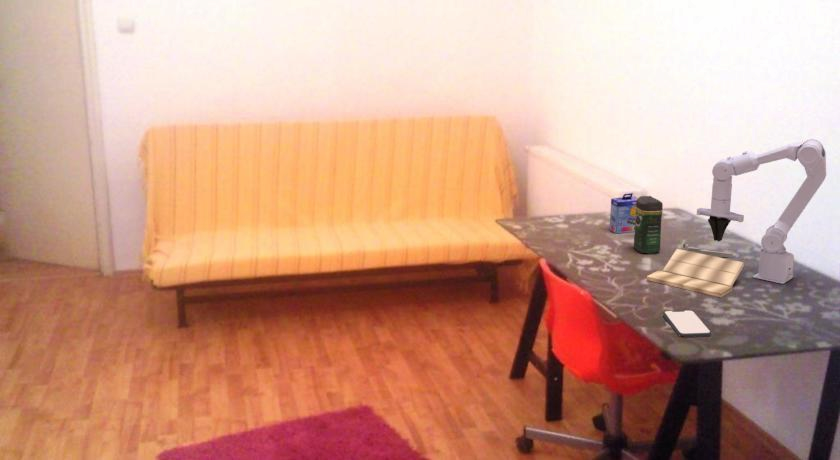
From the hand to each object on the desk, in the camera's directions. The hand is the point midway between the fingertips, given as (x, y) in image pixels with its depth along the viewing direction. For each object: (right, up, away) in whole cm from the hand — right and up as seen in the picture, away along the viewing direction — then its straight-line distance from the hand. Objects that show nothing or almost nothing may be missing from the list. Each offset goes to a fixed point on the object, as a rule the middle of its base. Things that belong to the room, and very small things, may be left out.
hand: (717, 240), depth 280 cm
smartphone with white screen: (-22, -23, -40) cm, 51 cm away
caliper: (+1, -7, +14) cm, 15 cm away
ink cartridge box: (-19, +3, +47) cm, 51 cm away
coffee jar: (-16, -4, +24) cm, 29 cm away
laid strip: (-12, -13, -10) cm, 21 cm away
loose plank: (-6, -9, -4) cm, 12 cm away
